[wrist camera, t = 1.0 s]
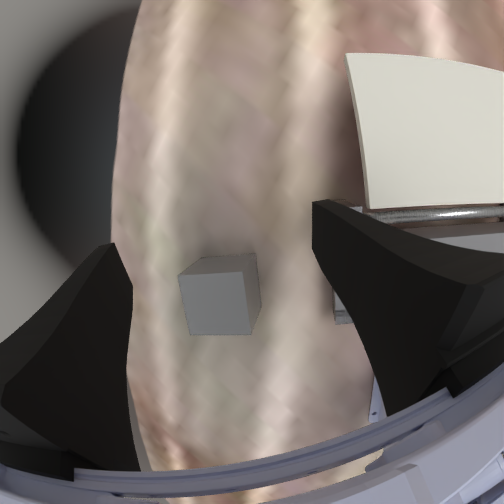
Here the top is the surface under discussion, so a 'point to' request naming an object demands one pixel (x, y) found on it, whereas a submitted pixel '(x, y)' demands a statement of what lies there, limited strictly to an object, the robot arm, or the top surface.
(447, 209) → the frame
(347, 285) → the robot arm
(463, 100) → the trapdoor
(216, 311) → the stone block
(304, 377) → the top surface
